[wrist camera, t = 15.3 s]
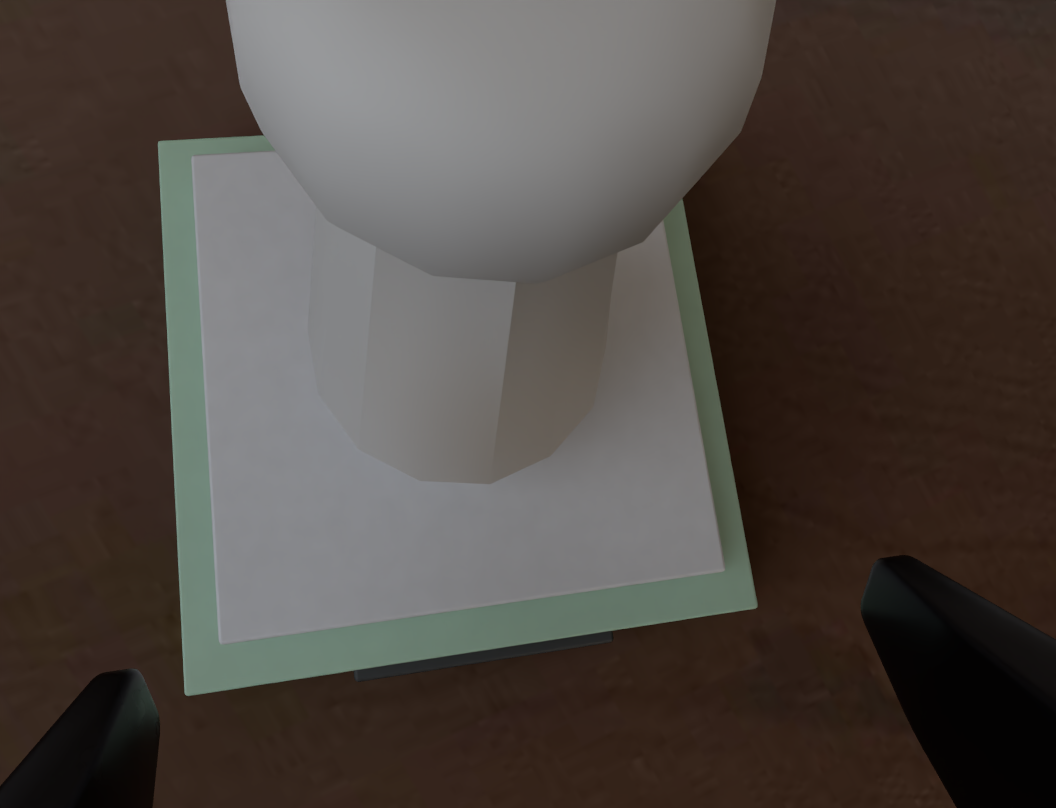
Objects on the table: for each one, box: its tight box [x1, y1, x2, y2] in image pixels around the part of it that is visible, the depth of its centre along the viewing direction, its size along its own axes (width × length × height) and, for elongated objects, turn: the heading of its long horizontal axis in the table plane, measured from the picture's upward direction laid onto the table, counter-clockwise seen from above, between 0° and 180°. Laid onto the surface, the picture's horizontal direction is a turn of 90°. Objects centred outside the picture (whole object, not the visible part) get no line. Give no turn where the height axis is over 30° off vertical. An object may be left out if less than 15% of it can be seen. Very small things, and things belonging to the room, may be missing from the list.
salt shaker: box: [226, 0, 776, 484], centre depth 11 cm, size 6×6×13 cm
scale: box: [158, 135, 758, 696], centre depth 19 cm, size 13×13×3 cm
